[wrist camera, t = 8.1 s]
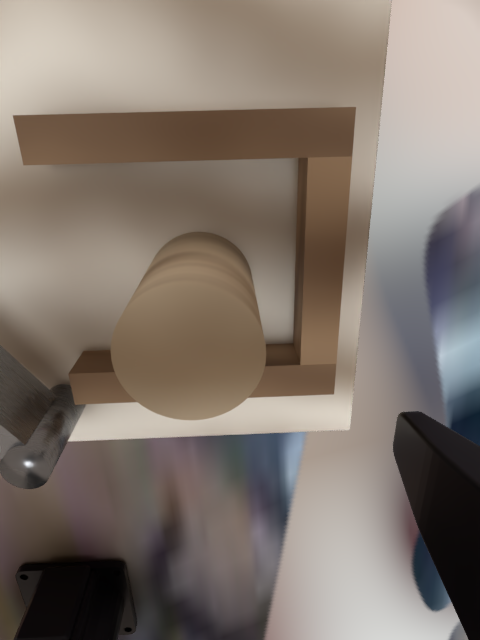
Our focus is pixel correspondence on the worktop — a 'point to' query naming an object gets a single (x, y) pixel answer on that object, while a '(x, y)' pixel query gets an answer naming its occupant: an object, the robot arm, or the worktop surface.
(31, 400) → the bar
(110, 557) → the worktop surface
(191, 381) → the pivot pin
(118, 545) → the worktop surface
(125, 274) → the cradle
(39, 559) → the worktop surface
